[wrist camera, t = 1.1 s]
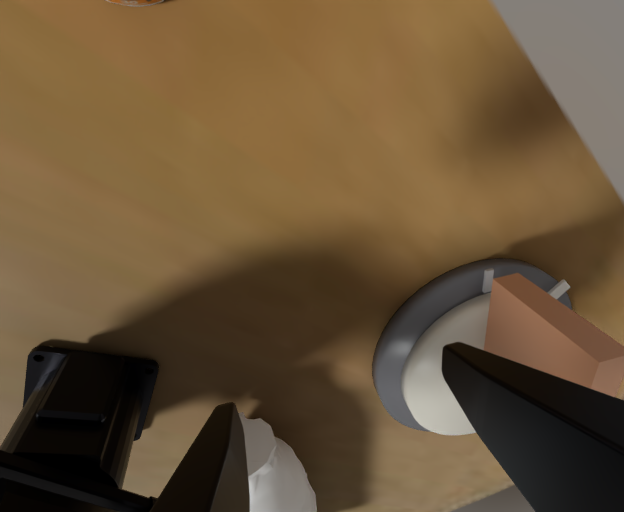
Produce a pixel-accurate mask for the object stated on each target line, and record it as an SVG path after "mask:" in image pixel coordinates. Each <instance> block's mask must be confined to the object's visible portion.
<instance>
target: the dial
mask: <svg viewBox="0 0 624 512" xmlns="http://www.w3.org/2000/svg"><path fill="white" fill-rule="evenodd" d="M454 342H462V343H465V344H468V345H470V346H473V347H476V348H479V349H482V350H484V351H487V352H490V353H493V354H495V355H498V356H501V357H504V358H507V359H509V360H512V361H515V362H518V363H521V364H523V365H526V366H529V367H532V368H535V369H537V370H540V371H543V372H546V373H548V374H551V375H554V376H557V377H560V378H562V379H565V380H568V381H571V382H574V383H576V384H579V385H582V386H585V387H588V388H590V389H593V390H596V391H599V392H602V393H604V394H607V395H610V396H613V397H616V395H617V392H618V390H619V387H620V385H621V382H622V380H623V377H624V346H622V345H621V344H620V343H618V342H617V341H615V340H614V339H612V338H611V337H610V336H608V335H607V334H605V333H604V332H602V331H601V330H600V329H598V328H597V327H595V326H594V325H592V324H591V323H589V322H588V321H587V320H585V319H584V318H582V317H581V316H579V315H578V314H577V313H575V312H574V311H572V310H571V309H569V308H568V307H567V306H565V305H564V304H562V303H561V302H559V301H558V300H557V299H555V298H554V297H552V296H551V295H549V294H548V293H547V292H545V291H544V290H542V289H541V288H539V287H538V286H536V285H535V284H534V283H532V282H531V281H529V280H528V279H526V278H525V277H524V276H522V275H521V274H519V273H515V274H511V275H507V276H502V277H498V278H494V279H493V282H492V290H491V293H487V294H484V295H481V296H477V297H475V298H473V299H470V300H468V301H466V302H464V303H462V304H460V305H458V306H456V307H454V308H453V309H451V310H450V311H448V312H447V313H445V314H444V315H443V316H441V317H440V318H439V319H438V320H436V321H435V322H434V323H433V324H432V325H431V326H430V327H429V328H428V329H427V330H426V331H425V332H424V333H423V334H422V335H421V337H420V338H419V339H418V340H417V342H416V343H415V345H414V346H413V347H412V349H411V351H410V353H409V355H408V356H407V358H406V361H405V364H404V366H403V370H402V374H401V392H402V395H403V398H404V400H405V402H406V404H407V406H408V408H409V410H410V411H411V413H412V415H413V417H414V419H415V420H416V421H417V422H418V423H419V424H420V425H421V426H423V427H424V428H425V429H427V430H429V431H432V432H435V433H438V434H444V435H465V434H471V433H476V431H475V430H474V428H473V427H472V425H471V423H470V422H469V420H468V419H467V417H466V415H465V413H464V412H463V410H462V408H461V407H460V405H459V403H458V402H457V400H456V398H455V397H454V395H453V393H452V392H451V390H450V388H449V386H448V385H447V383H446V381H445V380H444V377H443V374H442V369H441V367H442V350H443V347H444V346H445V345H447V344H450V343H454Z"/></svg>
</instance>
